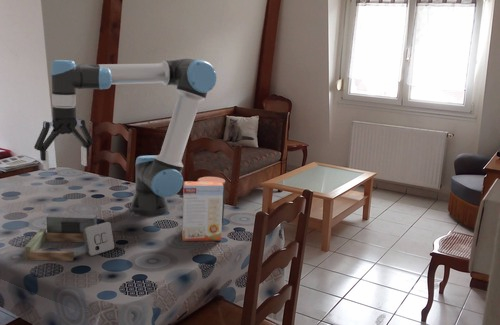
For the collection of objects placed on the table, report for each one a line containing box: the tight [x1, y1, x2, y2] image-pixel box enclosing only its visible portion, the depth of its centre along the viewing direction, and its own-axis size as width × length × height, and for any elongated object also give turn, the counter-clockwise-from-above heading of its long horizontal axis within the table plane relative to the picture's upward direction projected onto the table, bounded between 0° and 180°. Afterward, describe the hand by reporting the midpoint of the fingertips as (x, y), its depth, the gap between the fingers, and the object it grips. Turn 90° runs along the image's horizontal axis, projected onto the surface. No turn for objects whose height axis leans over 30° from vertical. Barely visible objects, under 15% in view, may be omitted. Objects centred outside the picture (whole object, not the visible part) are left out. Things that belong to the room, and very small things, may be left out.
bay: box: [24, 228, 85, 262], centre depth 169 cm, size 15×17×4 cm
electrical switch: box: [83, 221, 115, 256], centre depth 170 cm, size 9×5×9 cm, turn 141°
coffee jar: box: [197, 176, 226, 225], centre depth 200 cm, size 11×11×18 cm
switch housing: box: [46, 212, 98, 234], centre depth 179 cm, size 16×5×8 cm, turn 95°
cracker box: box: [181, 180, 225, 242], centre depth 185 cm, size 14×6×21 cm, turn 100°
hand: (65, 167), depth 179 cm, fingers open, 13 cm apart
